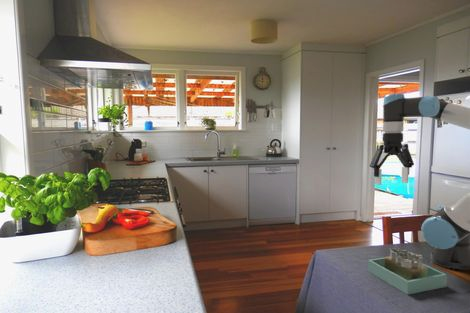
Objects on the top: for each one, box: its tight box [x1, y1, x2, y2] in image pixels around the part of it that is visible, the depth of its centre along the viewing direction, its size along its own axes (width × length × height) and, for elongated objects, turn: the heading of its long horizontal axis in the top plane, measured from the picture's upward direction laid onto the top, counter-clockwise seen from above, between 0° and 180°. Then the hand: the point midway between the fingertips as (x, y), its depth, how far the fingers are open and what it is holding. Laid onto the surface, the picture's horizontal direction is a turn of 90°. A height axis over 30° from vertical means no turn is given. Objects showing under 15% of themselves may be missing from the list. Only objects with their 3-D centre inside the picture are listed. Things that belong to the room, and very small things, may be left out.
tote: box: [367, 256, 448, 296], centre depth 114 cm, size 17×19×5 cm
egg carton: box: [388, 247, 424, 268], centre depth 113 cm, size 11×8×4 cm
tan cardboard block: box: [385, 255, 428, 281], centre depth 114 cm, size 7×12×6 cm, turn 17°
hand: (391, 183), depth 131 cm, fingers open, 13 cm apart
